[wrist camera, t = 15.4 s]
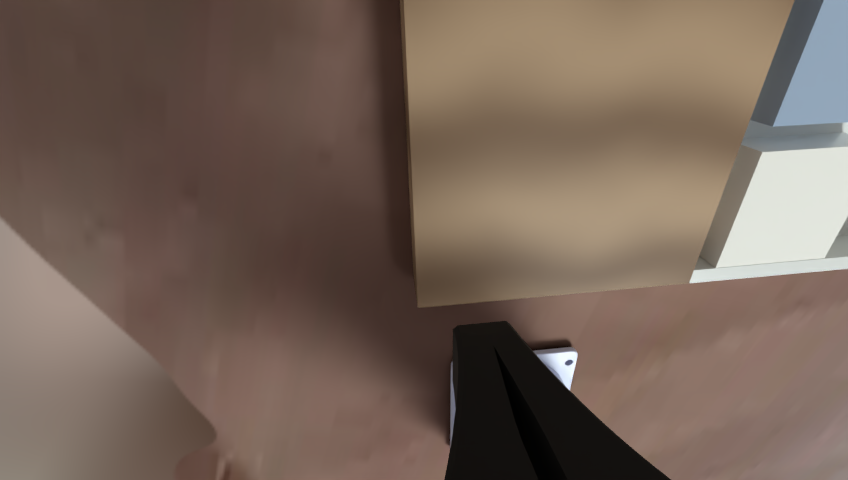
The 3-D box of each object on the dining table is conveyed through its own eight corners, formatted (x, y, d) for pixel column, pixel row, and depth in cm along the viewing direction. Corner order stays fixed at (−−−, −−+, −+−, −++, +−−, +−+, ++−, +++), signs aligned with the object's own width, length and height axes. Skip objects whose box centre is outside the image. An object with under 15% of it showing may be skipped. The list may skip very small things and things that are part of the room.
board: (660, 258, 23) (689, 283, 21) (413, 279, 22) (418, 308, 19) (766, -76, 15) (828, -91, 13) (396, -71, 14) (399, -84, 12)
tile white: (789, 239, 22) (824, 258, 21) (689, 247, 22) (715, 268, 20) (842, 132, 19) (888, 143, 18) (727, 139, 19) (762, 152, 17)
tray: (853, 241, 24) (899, 264, 21) (660, 258, 23) (689, 283, 21) (1043, -81, 16) (1142, -95, 14) (766, -76, 15) (828, -91, 13)
